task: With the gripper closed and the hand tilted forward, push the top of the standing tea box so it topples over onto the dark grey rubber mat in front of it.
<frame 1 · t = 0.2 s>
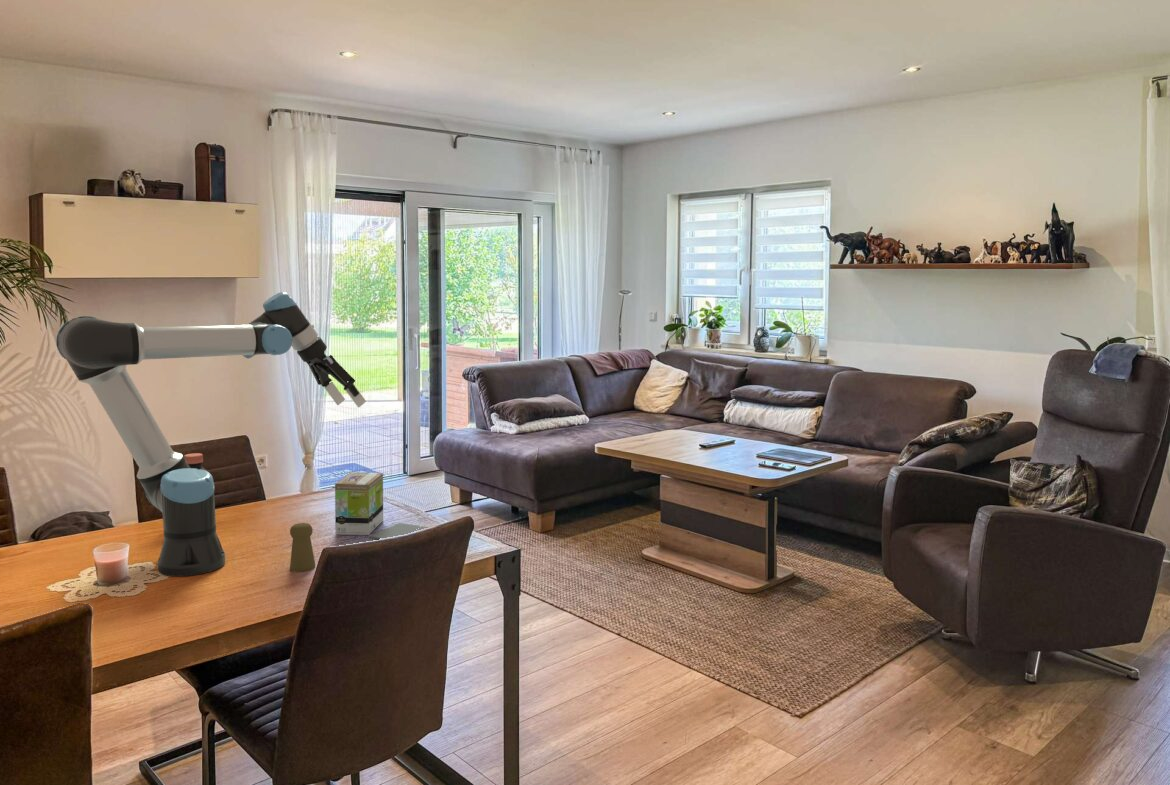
hand: (351, 403, 244), 35 cm above the table, tool tilted 35°, fingers open, 13 cm apart
bottle: (197, 523, 247), on the table
mat: (399, 533, 237), on the table
tea box: (360, 528, 243), on the table
olive green pawn: (302, 568, 209), on the table
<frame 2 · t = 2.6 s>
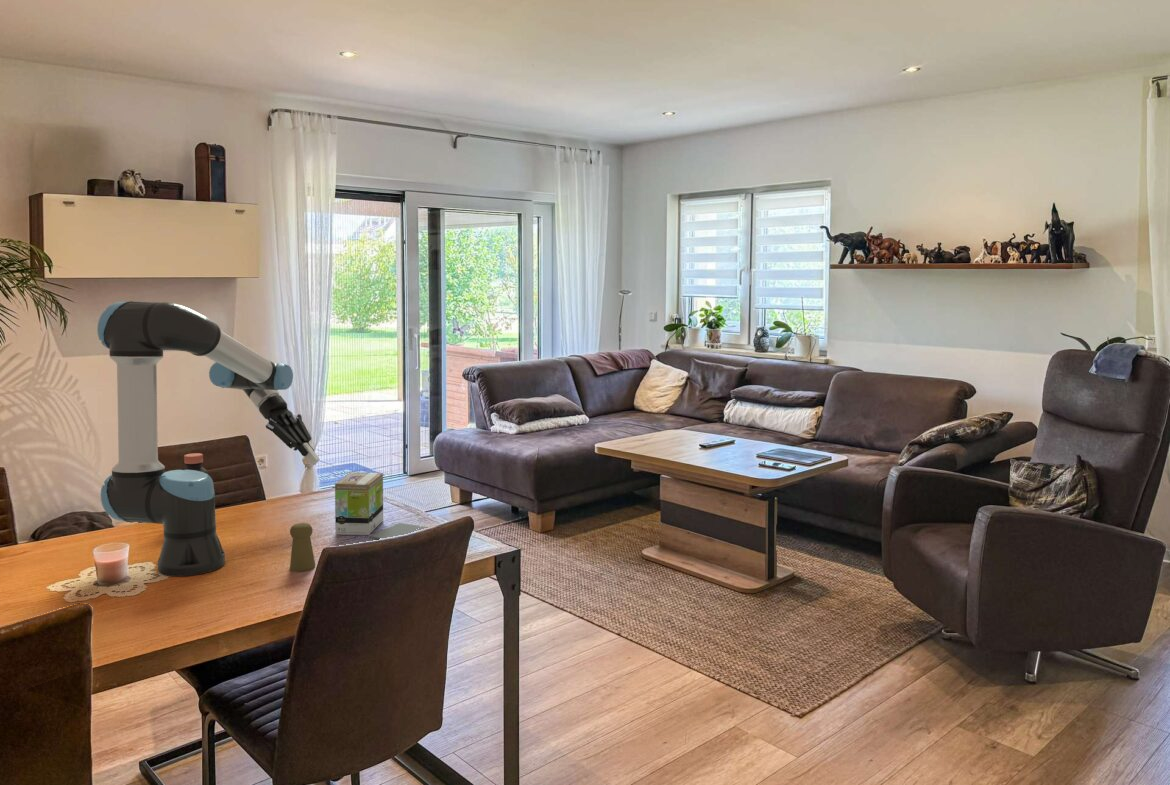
hand: (315, 462, 248), 17 cm above the table, tool tilted 45°, fingers closed
nothing on the table moved.
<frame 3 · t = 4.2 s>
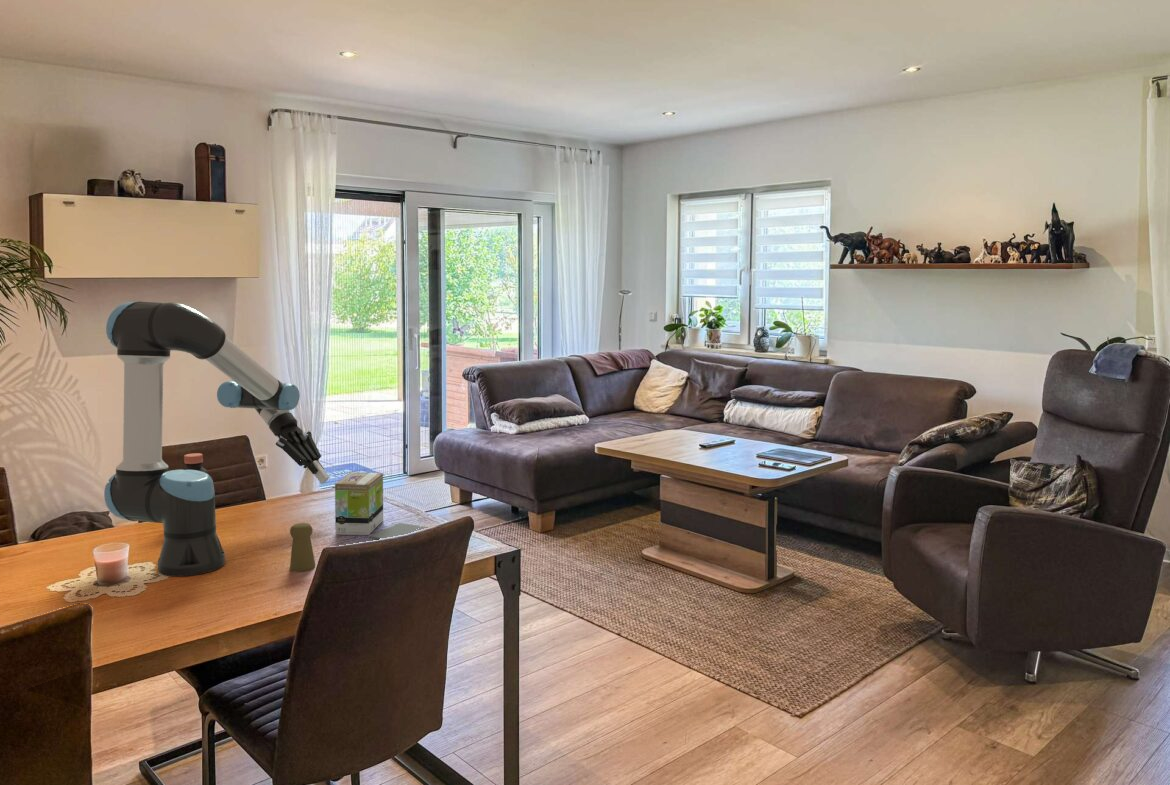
hand: (325, 480, 247), 12 cm above the table, tool tilted 45°, fingers closed
nothing on the table moved.
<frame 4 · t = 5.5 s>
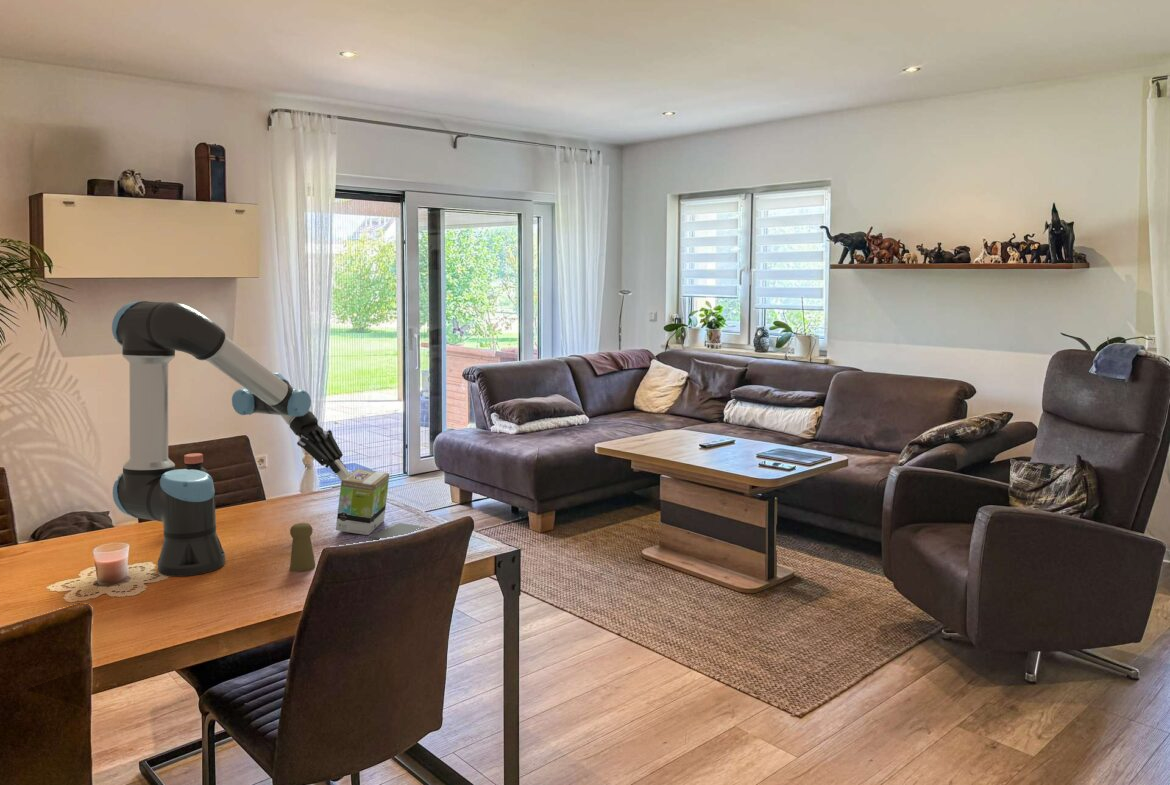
hand: (347, 479, 245), 13 cm above the table, tool tilted 45°, fingers closed
tea box: (360, 526, 243), on the table, touching gripper
everything else where it was.
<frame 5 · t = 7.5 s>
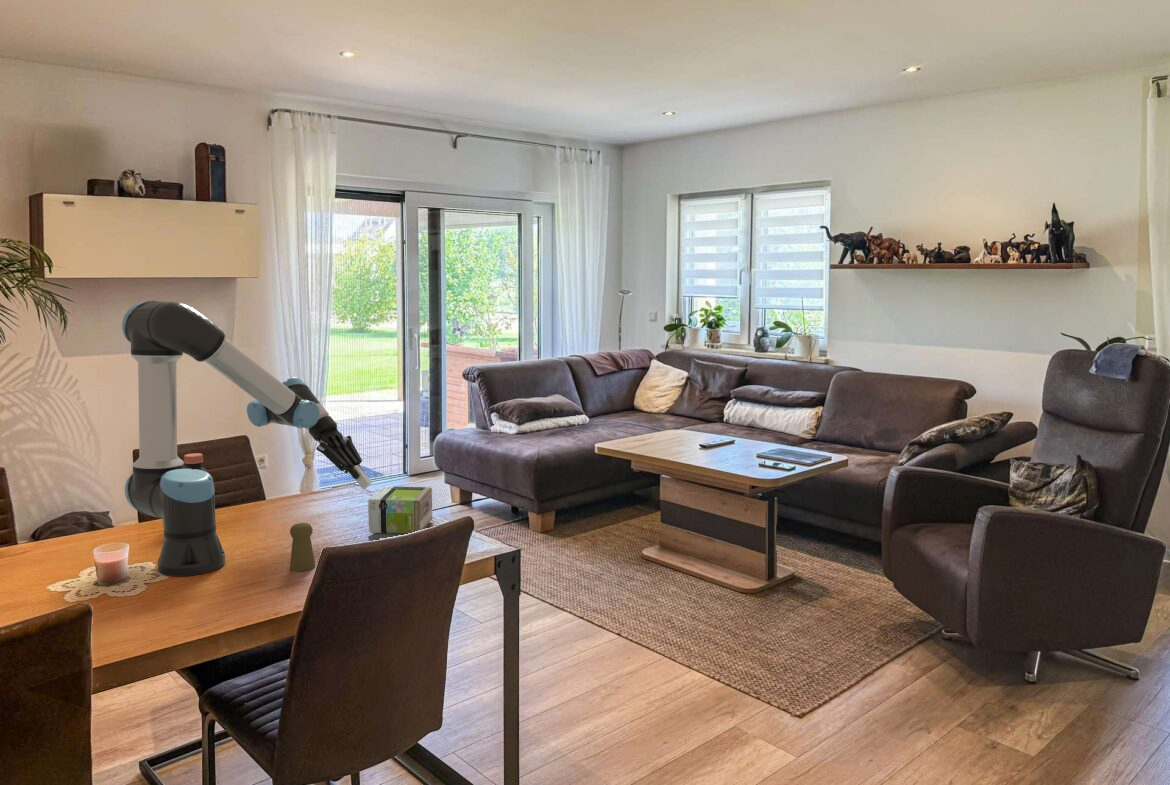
hand: (367, 485, 240), 13 cm above the table, tool tilted 45°, fingers closed
tea box: (375, 509, 242), point 5 cm above the table, touching mat
everything else where it was.
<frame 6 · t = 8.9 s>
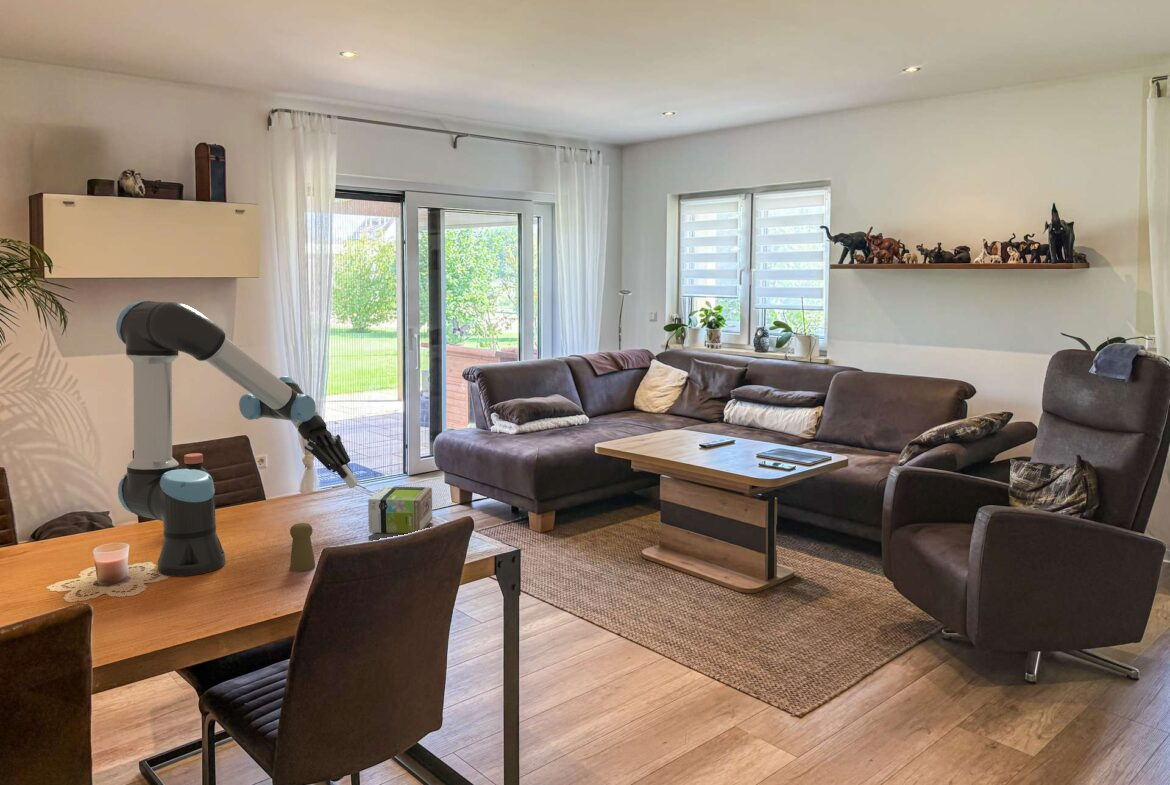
hand: (354, 485, 242), 12 cm above the table, tool tilted 45°, fingers closed
nothing on the table moved.
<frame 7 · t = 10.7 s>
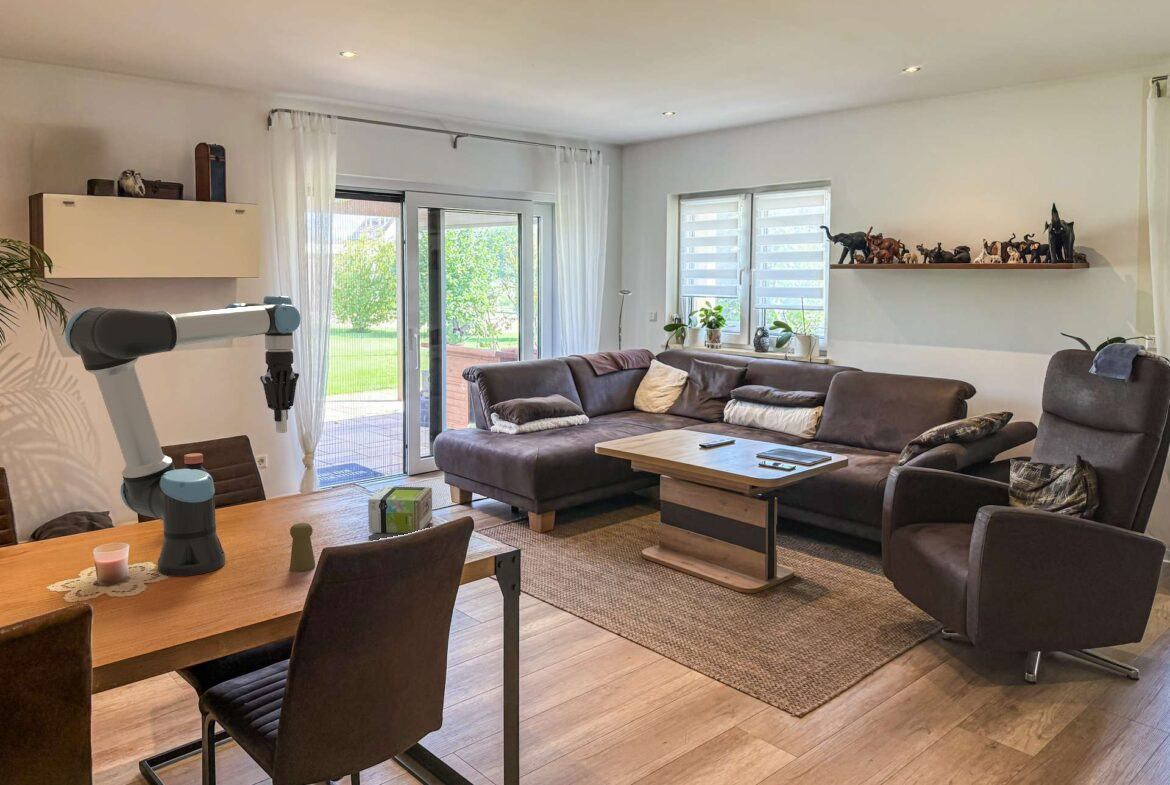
hand: (281, 432, 245), 27 cm above the table, tool pointing down, fingers closed
nothing on the table moved.
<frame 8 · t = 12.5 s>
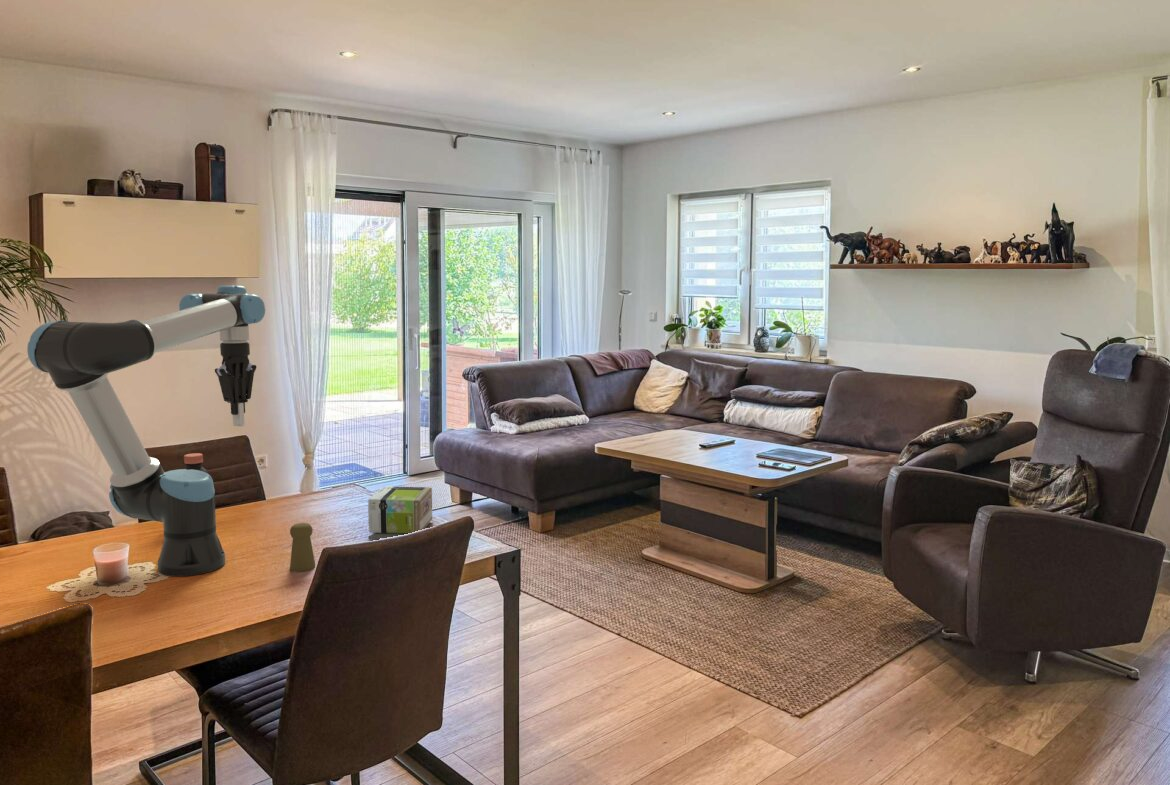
hand: (238, 425, 238), 29 cm above the table, tool pointing down, fingers closed
nothing on the table moved.
at the end: tea box tilted 89°; tea box inside the target area (12.5 cm from its centre), point 5.5 cm above the table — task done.
